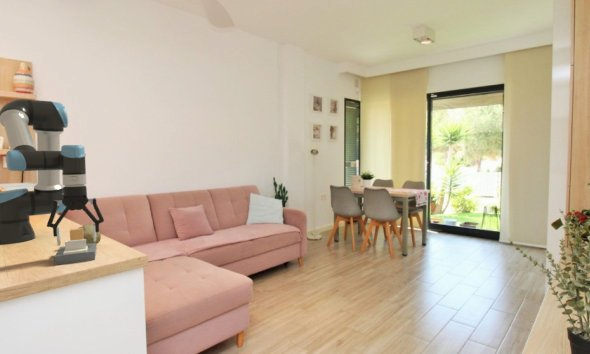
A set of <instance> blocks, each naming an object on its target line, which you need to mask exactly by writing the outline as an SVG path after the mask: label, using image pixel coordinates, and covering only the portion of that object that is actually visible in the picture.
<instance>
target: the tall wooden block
mask: <svg viewBox="0 0 590 354" xmlns="http://www.w3.org/2000/svg"><path fill="white" fill-rule="evenodd" d="M81 239H84V235H83V228H79V227H78V228H71V229H70V230H69V241H72V240H81Z"/></svg>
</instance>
